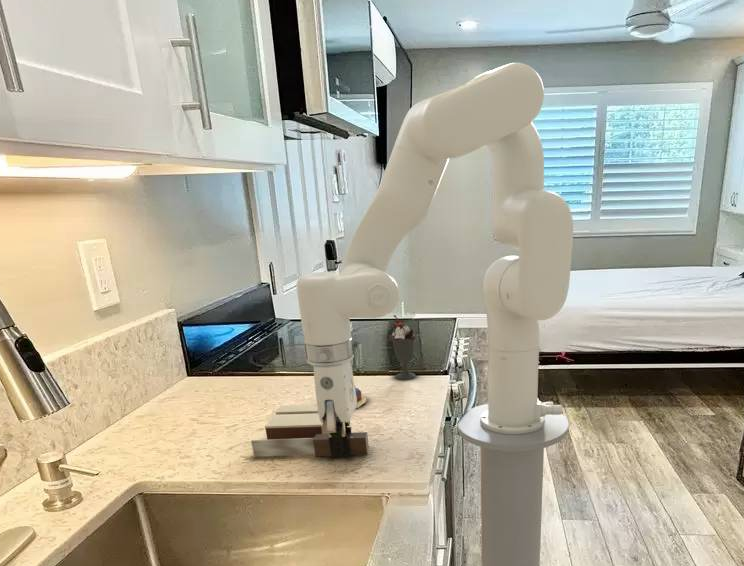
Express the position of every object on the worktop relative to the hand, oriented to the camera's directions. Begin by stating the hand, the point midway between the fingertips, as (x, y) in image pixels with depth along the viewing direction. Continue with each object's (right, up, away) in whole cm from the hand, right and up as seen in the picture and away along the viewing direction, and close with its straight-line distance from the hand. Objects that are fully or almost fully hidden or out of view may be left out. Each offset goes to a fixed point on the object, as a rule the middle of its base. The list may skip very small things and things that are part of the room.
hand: (342, 451), depth 99 cm
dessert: (-3, +9, +24) cm, 25 cm away
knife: (-6, 0, 0) cm, 6 cm away
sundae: (+8, +15, +39) cm, 43 cm away
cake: (-9, +1, +6) cm, 11 cm away
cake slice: (-9, +3, +11) cm, 14 cm away
